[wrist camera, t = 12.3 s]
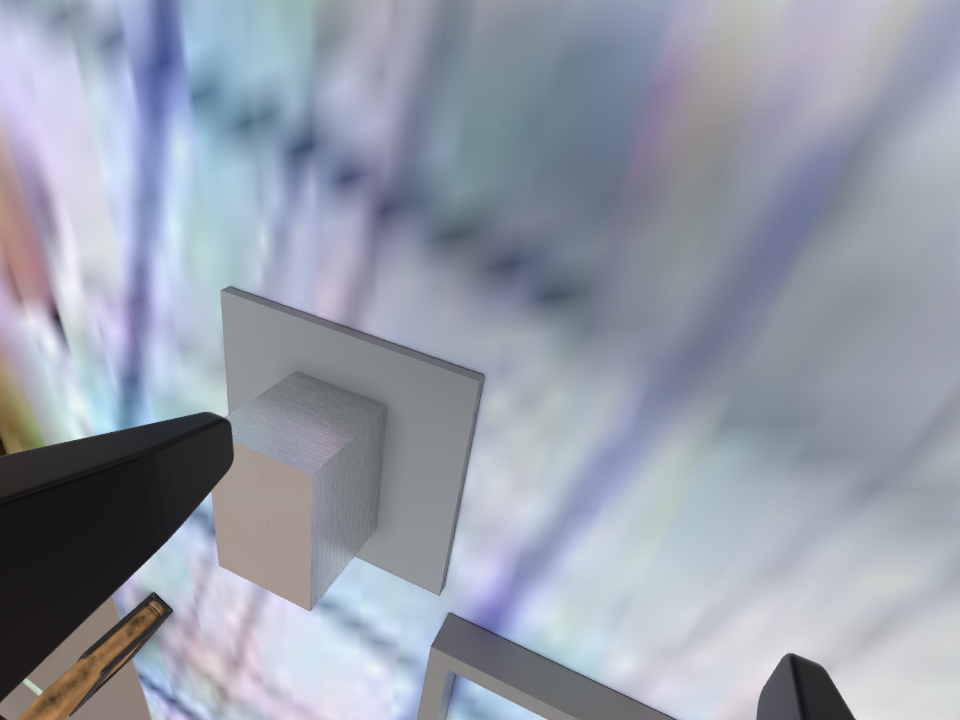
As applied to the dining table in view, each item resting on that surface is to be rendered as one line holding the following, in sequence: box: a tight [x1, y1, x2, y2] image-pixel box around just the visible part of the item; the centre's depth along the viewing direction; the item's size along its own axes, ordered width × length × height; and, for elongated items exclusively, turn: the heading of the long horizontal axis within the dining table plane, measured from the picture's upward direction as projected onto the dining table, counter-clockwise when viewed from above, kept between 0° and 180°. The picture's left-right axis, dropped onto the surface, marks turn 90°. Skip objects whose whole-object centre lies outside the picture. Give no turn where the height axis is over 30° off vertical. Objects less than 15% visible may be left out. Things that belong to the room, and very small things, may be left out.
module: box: [212, 371, 388, 611], centre depth 23 cm, size 4×7×5 cm, turn 170°
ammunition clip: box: [17, 592, 173, 720], centre depth 37 cm, size 11×2×12 cm, turn 140°
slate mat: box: [220, 287, 484, 596], centre depth 26 cm, size 12×12×1 cm
